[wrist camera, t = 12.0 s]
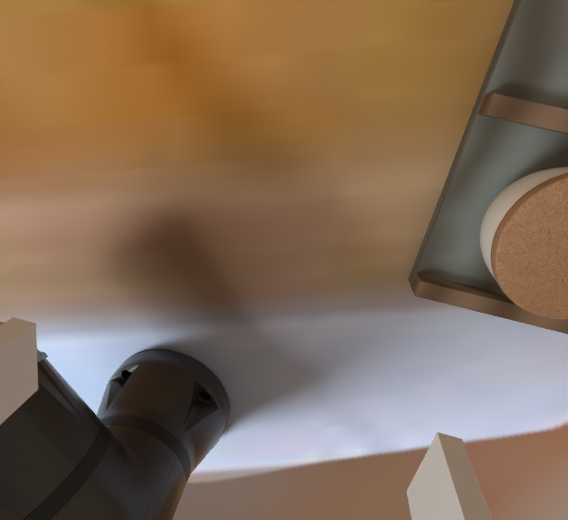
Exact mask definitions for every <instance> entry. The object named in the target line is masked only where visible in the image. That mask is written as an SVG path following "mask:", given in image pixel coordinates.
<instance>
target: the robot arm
mask: <svg viewBox="0 0 568 520" xmlns="http://www.w3.org/2000/svg"><path fill="white" fill-rule="evenodd" d="M47 357H48V356H47V355H46V353H45V352H40V351H39V350H38V349H37V344H36V323H32V322H29V321H25V320H21V319H18V318H14V317H13V318H11V319H10V320H8V321H7V322H5V323H4V322H0V520H172V519H173V516H174V514H175V511H176V509H177V506H178V504H179V501H180V498H181V496H182V493H183V491H184V488H185V486H186V483H187V481H188V479H189V476H190V474H191V473H192V471H193V470H194V469H195V468H196V467H197V466H198V464H199V463H200V462H201V461H202V460H203V459H204V458H205V456H206V455H207V454H208V453H209V452H210V451H211V449H212V448H213V447H214V446H215V445H216V444H217V442H218V441H219V439H220V437H221V435H222V433H223V431H224V428H225V425H226V422H227V420H228V416H229V402H228V398H227V395H226V392H225V390H224V388H223V386H222V384H221V383H220V381H219V380H218V379H217V377H216V376H215V375H214V374H213V373H212V372H211V371H210V370H209V369H208V368H206V367H205V366H204V365H202V364H201V363H199V362H198V361H196V360H194V359H192V358H190V357H188V356H186V355H183V354H180V353H177V352H173V351H167V350H149V351H144V352H140V353H138V354H135V355H133V356H131V357H130V358H128V359H127V360H126V361H125V362H124V363H123V364H122V365H121V366H120V367H119V368H118V370H117V371H116V372H115V373H114V374H113V376H112V377H111V379H110V380H109V382H108V384H107V387H106V390H105V393H104V396H103V398H102V401H101V404H100V407H99V410H98V413H97V416H96V414H95V413H94V412H93V411H92V410H91V409H90V408H89V407H88V405H87V404H86V403H85V402H84V401H83V400H82V399H81V398H80V396H79V395H78V394H77V393H76V392H75V391H74V390H73V389H72V387H71V386H70V385H69V384H68V383H67V382H66V381H65V380H64V378H63V377H62V376H61V375H60V374H59V373H58V372H57V371H56V369H55V368H54V367H53V366H52V365H51V364H50V363H49V362H48V360H47V359H46V358H47ZM407 496H408V501H409V506H410V512H411V517H412V520H493V519H492V517H491V514H490V511H489V509H488V506H487V504H486V501H485V498H484V496H483V493H482V491H481V488H480V485H479V483H478V480H477V478H476V475H475V472H474V470H473V467H472V464H471V462H470V459H469V457H468V454H467V452H466V449H465V446H464V444H463V441H462V439H460V438H456V437H453V436H449V435H445V434H442V433H438V432H437V434H436V436H435V438H434V440H433V442H432V444H431V446H430V448H429V449H428V451H427V453H426V455H425V457H424V459H423V461H422V463H421V465H420V467H419V469H418V471H417V473H416V475H415V476H414V479H413V480H412V482H411V484H410V486H409V488H408V490H407Z"/></svg>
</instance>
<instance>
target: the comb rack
mask: <svg viewBox="0 0 568 520" xmlns="http://www.w3.org/2000/svg"><path fill="white" fill-rule="evenodd" d="M558 167H568V0H515V1H514V3H513V6H512V9H511V11H510V14H509V17H508V19H507V22H506V25H505V27H504V30H503V32H502V35H501V38H500V40H499V43H498V46H497V48H496V51H495V53H494V56H493V59H492V61H491V64H490V67H489V69H488V72H487V74H486V77H485V80H484V82H483V85H482V88H481V90H480V93H479V96H478V98H477V101H476V103H475V106H474V109H473V111H472V114H471V117H470V119H469V122H468V124H467V127H466V130H465V132H464V135H463V138H462V140H461V143H460V145H459V148H458V151H457V153H456V156H455V159H454V161H453V164H452V166H451V169H450V172H449V174H448V177H447V180H446V182H445V185H444V188H443V190H442V193H441V195H440V198H439V201H438V203H437V206H436V209H435V211H434V214H433V216H432V219H431V222H430V224H429V227H428V230H427V232H426V235H425V237H424V240H423V243H422V245H421V248H420V251H419V253H418V256H417V259H416V261H415V264H414V266H413V269H412V272H411V274H410V277H409V282H410V285H411V287H412V290H413V292H414V295H415V296H418V297H422V298H426V299H430V300H434V301H438V302H442V303H446V304H450V305H454V306H458V307H462V308H466V309H470V310H474V311H478V312H482V313H486V314H490V315H494V316H498V317H502V318H506V319H510V320H514V321H518V322H522V323H526V324H530V325H534V326H538V327H542V328H546V329H550V330H554V331H558V332H562V333H566V334H568V319H551V318H545V317H542V316H538V315H535V314H532V313H530V312H528V311H525V310H524V309H522V308H521V307H519V306H517V305H516V304H515V303H514V302H513V301H512V300H510V299H509V298H508V297H507V295H506V294H505V293H504V292H503V290H502V289H501V288H500V287H499V285H498V283H497V281H496V280H495V279H494V277H493V276H492V275H491V273H490V271H489V269H488V267H487V265H486V263H485V261H484V259H483V255H482V252H481V248H480V229H481V225H482V221H483V218H484V216H485V213H486V211H487V209H488V208H489V206H490V204H491V203H492V201H493V200H494V199H495V198H496V197H497V196H498V194H500V193H501V192H502V191H503V190H504V189H505V188H506V187H508V186H509V185H511V184H512V183H514V182H515V181H517V180H519V179H521V178H523V177H525V176H527V175H529V174H532V173H535V172H537V171H541V170H546V169H551V168H558Z"/></svg>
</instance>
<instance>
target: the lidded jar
mask: <svg viewBox="0 0 568 520" xmlns="http://www.w3.org/2000/svg"><path fill="white" fill-rule="evenodd" d="M480 248H481V252H482V255H483V259H484V261H485V263H486V265H487V267H488V269H489V271H490V273H491V275H492V276H493V277H494V279H495V280H496V281H497V283H498V285H499V287H500V288H501V289H502V290H503V292H504V293H505V294H506V295H507V297H508V298H509V299H510V300H512V301H513V302H514V303H515V304H516V305H517V306H519V307H521V308H522V309H524V310H525V311H528V312H530V313H532V314H535V315H538V316H542V317H545V318H551V319H568V167H558V168H551V169H546V170H541V171H537V172H535V173H532V174H529V175H527V176H525V177H523V178H521V179H519V180H517V181H515V182H514V183H512V184H511V185H509V186H508V187H506V188H505V189H504V190H503V191H502V192H501V193H500V194H498V196H497V197H496V198H495V199H494V200H493V201H492V203H491V204H490V206H489V208H488V209H487V211H486V213H485V216H484V218H483V221H482V225H481V229H480Z"/></svg>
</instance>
